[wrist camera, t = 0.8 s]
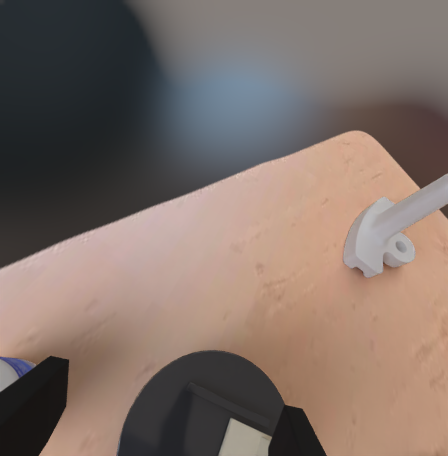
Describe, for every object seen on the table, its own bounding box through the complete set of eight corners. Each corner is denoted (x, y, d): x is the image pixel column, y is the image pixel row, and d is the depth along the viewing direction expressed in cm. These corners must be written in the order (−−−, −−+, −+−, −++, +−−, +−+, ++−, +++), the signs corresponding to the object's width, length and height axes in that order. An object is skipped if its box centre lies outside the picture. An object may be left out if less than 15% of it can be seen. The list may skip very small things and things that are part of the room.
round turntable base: (268, 387, 26) (315, 391, 20) (225, 544, 21) (269, 622, 14) (162, 335, 26) (173, 321, 19) (89, 483, 20) (69, 535, 14)
